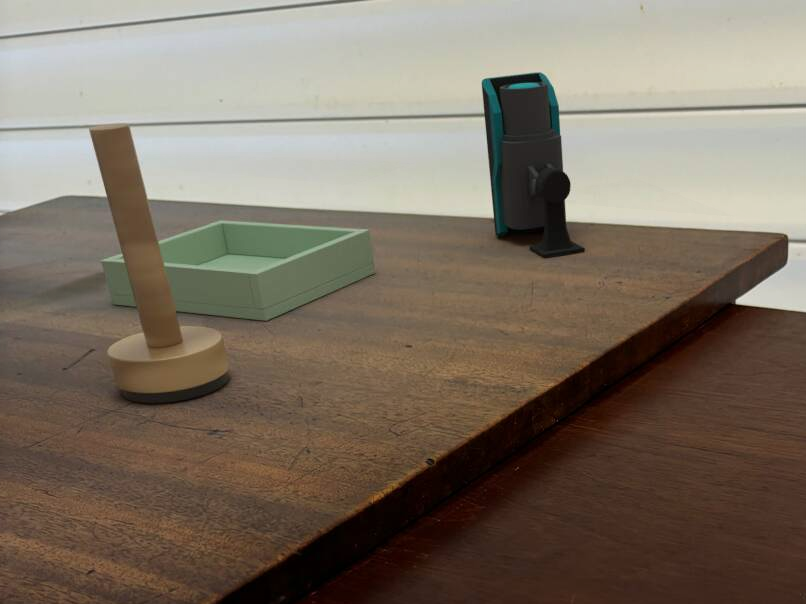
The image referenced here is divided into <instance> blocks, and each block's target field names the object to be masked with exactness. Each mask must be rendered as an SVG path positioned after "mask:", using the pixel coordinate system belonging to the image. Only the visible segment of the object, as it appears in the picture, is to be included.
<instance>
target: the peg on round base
mask: <svg viewBox="0 0 806 604" xmlns="http://www.w3.org/2000/svg"><path fill="white" fill-rule="evenodd" d="M88 132H89V134H90V139H91V142H92V145H93V150H94V154H95V157H96V162H97V165H98V168H99V169H98V170H99V173H100V176H101V180H102V183H103V188H104V191H105V195H106V199H107V202H108V207H109V209H110V213H111V217H112V220H113V224H114V229H115V232H116V236H117V239H118V243H119V247H120V250H121V254H122V255H123V258H124V262H125V266H126V269H127V273H128V277H129V281H130V284H131V288H132V292H133V296H134V299H135V303H136V307H135V308H136V310H137V315H138V317H139V321H140V325H141V329H142V332H139V333H138V332H137V333H135V334H132V335H129V336H126V337H124V338H122V339H119V340H118V341H115V342H114V343H112V345H110V346H109V348H108V349H107V351H106V353H107V357H108V360H109V364H110V368H111V371H112V374H113V378H114V382H115V384H116V386H117V387H118V388H119V389H120V390H121V394H122V396H123V397H124V398H125V399H127V400H128V401H131V402H134V403H140V404H169V403H177V402H182V401H187V400H191V399H196V398H199V397H203V396H205V395H209V394H211V393H213V392H215V391H217V390H219V389H220V388H222V387H224V386H225V385H226V384H227V383H228V380H229V373H228V371H229V368H230V363H229V359H228V355H227V350H226V346H225V340H224V337H223V333H221V332H220V331H219V330H217V329H215V328H211V327H206V326H197V325H183V326H180V323H179V319H178V313H177V311H176V310H175V306H174V302H173V298H172V294H171V290H170V286H169V282H168V278H167V274H166V270H165V266H164V262H163V258H162V254H161V250H160V246H159V242H158V241H159V237H158V234H157V230H156V227H155V222H154V217H153V214H152V211H151V210H152V209H151V205H150V202H149V198H148V195H147V190H146V186H145V182H144V178H143V174H142V170H141V166H140V163H139V158H138V154H137V149H136V146H135V143H134V138H133V133H132V130H131V126H130V124H129V123H125V122H119V123H117V122H116V123H107V124H100V125H96V126H95V125H94V126H92V127H89V128H88Z"/></svg>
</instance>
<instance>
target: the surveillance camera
mask: <svg viewBox="0 0 806 604" xmlns="http://www.w3.org/2000/svg"><path fill="white" fill-rule="evenodd" d="M481 91H482V103H483V104H482V105H483V114H484V124H485V134H486V135H485V136H486V146H487V158H488V168H489V179H490V189H491V190H490V191H491V203H492V212H493V222H494V232H495V233H494V235H495V236H497V237H508V236H509V235H510V236H514V235H515V234H516V235H521V234H520V233H522V234H528V233H536V232H542V231H543V235H542V241H541V243H539V244H534V245H529V246H528V249H529V250H530V251H531V252H533V253H535V254H537V255H539V256H540V257H541V258H544V259H547V258H551V257H558V256H565V255H571V254H577V253H584V252H586V251H585V250H586V249H585V247H583V246H581V245H579V244H578V243H576V242H574V241H572V240H571V237H570V234H569V231H568V227H567V213H566V212H567V211H566V200H567V198H568V197H569V196H570V192H571V188H572V187H571V186H572V185H571V180H570V178H569V175H568V174H567V173H565V172H564V162H563V161H564V159H563V143H562V142H563V141H562V135H561V123H560V121H561V120H560V105H559V102H558V98H557V95H556V91H555V89H554V86H553V84H552V83H551V81H550V79H549V78H548V77H547V75H545V74H544V73H543V72H539V71H537V72H528V73H520V74H511V75H502V76H494V77H493V76H492V77H487V78H483V79H482V80H481ZM510 236H509V237H510Z"/></svg>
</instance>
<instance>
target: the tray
mask: <svg viewBox="0 0 806 604" xmlns="http://www.w3.org/2000/svg"><path fill="white" fill-rule="evenodd" d="M158 242H159V246H160V250H161V254H162V258H163V262H164V266H165V270H166V274H167V278H168V282H169V286H170V290H171V294H172V298H173V302H174V306H175V310H176V312H179V313H187V314H188V313H189V314H199V315H209V316H217V317H226V318H235V319H245V320H252V321H253V320H254V321H263V322H268V321H269V320H272V319H274V318H276V317H279V316H281V315H283V314H285V313H288V312H290V311H292V310H294V309H296V308H299V307H301V306H303V305H305V304H308V303H311V302H312V301H315V300H317V299H320V298H322V297H324V296H327V295H329V294H331V293H334V292H335V291H338V290H341V289H342V288H345V287H347V286H350V285H351V284H354V283H356V282H359V281H360V280H362V279H365V278H367V277H370V276H372V275H374V274H376V266H375V260H374V252H373V247H372V239H371V232H370V229H365V228H361V229H360V228H349V227H348V228H347V227H331V226H316V225H301V224H287V223H285V224H283V223H269V222H268V223H267V222H255V221H254V222H252V221H239V220H237V221H235V220H234V221H233V220H223V219H221V220H217V221H215V222H211V223H208V224H205V225H203V226H200V227H197V228H193V229H191V230H187V231H185V232H181V233H179V234H176V235H173V236H170V237H167V238H164V239H161V240H158ZM100 263H101V266H102V269H103V274H104V277H105V281H106V285H107V288H108V292H109V294H110V299H111V302H112V303H111V304H112V305H115V306H123V307H124V306H125V307H133V308H137V307H136V303H135V299H134V296H133V292H132V288H131V284H130V281H129V277H128V273H127V269H126V266H125V262H124V258H123V255H122V253H119V254H116V255H113V256H109V257H107V258H104V259H101V260H100Z"/></svg>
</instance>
